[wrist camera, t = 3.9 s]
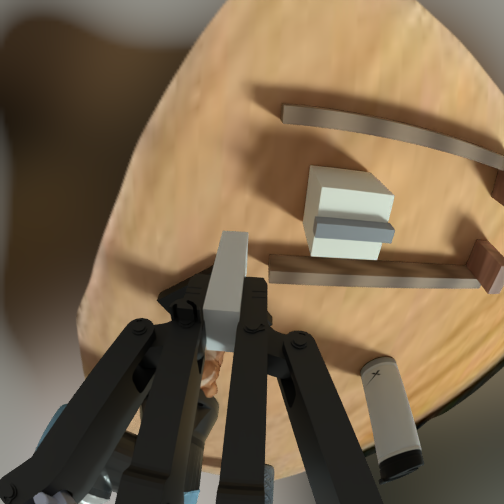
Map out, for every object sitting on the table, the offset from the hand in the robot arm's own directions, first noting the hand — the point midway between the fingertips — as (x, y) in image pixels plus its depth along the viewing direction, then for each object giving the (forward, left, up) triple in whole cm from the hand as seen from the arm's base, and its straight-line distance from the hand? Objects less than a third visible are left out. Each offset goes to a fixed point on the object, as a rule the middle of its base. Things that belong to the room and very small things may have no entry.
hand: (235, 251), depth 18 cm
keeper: (+9, 0, -11) cm, 14 cm away
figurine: (-3, -15, -12) cm, 19 cm away
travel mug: (+22, -28, -12) cm, 38 cm away
